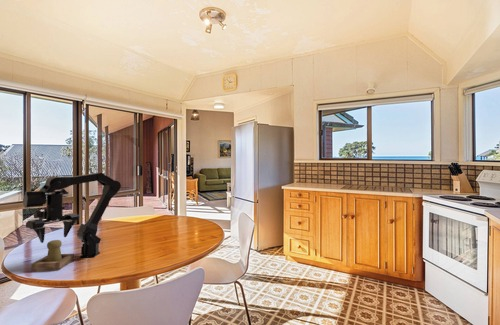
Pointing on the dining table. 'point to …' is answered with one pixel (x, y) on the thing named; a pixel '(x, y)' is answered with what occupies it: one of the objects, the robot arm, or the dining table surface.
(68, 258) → the socket block
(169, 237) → the dining table surface
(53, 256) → the cork
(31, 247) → the dining table surface
